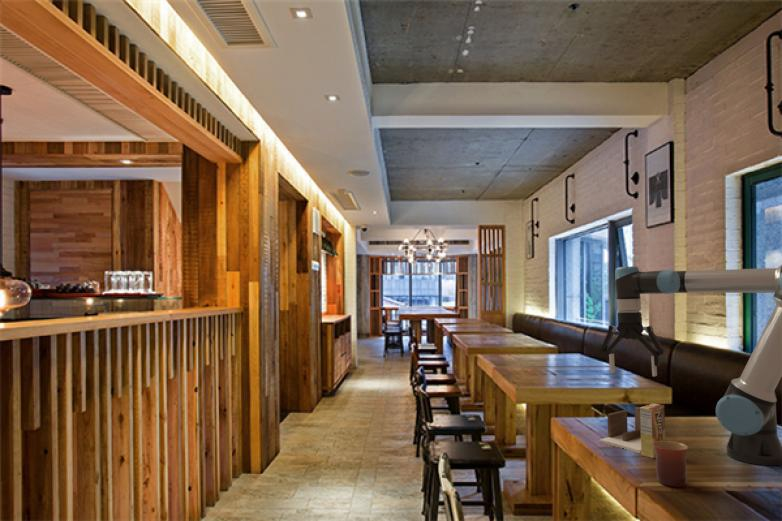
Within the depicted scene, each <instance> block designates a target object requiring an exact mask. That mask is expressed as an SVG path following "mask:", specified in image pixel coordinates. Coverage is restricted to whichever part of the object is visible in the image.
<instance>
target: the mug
mask: <svg viewBox="0 0 782 521" xmlns="http://www.w3.org/2000/svg"><path fill="white" fill-rule="evenodd" d="M652 445H653V447H654V450H655V454H656V457H655V473H656V478H657V481H658V482H659V483H660V484H662V485H664V486H667V487H670V488H671V487H672V488H679V487H680V488H681V487H684V486H685V485H687V480H688V479H687V478H688V475H687V474H688V473H687V461H686V459H687V454H688V451H689V446H688V445H686V444H684V443H681V442H678V441H673V440H672V441H671V440H665V441H655V442H653V443H652Z"/></svg>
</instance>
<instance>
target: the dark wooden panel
mask: <svg viewBox="0 0 782 521" xmlns="http://www.w3.org/2000/svg"><path fill="white" fill-rule="evenodd" d="M628 427H629V426H628V411H627V410H625V409H623V410H619V411H615V412H612V413H607V432H608V433H607V437H610V438H612V437H615V436H619V435H623V433H626V432H629V431H628V430H629V429H628Z"/></svg>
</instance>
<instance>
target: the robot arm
mask: <svg viewBox="0 0 782 521" xmlns="http://www.w3.org/2000/svg"><path fill="white" fill-rule="evenodd" d="M614 272H615V279H614V283H615V294H616V310H617V311H618V312H617V326H615V325H609V326H608V330H607V331H608V332H607V334H606V336H605V338H604V340H603V342H602V345H601V347H600V352H601V353H605V354H606V362H607V364H609V374H614V373H616V368H615V367H616V366H615V353H613V351H614V350H615V349H616V347H617V346H618V345H619V344H620V343H621V342H622V341H623V339H625V340H629V339H630V340H638V341H639V342H641V344H642V345H644V347H645V348H646V350H648V351H649V352H650V354H652V355H651V356H650V361H651V362H650V363H651V374H652V375H651V377H657V376H658V368H657V367H660V356H661V355H664V354H666V352H665V349H664V347H663V345H662V344H661V343H660V341H659V339H658V338H657V336H656V334H655V332H654V328H653V325H648V326H643V317H642V316H643V315H642V312H641V311H642V303H641V302H642V301H641V295H646V294H650V295H651V294H652V295H653V294H654V295H658V294H665V295H668V294H669V295H670V294H687V293H689V294H690V293H691V294H692V293H693V294H705V293H706V294H707V293H708V294H709V293H710V294H711V293H713V294H714V293H715V294H716V293H717V294H718V293H719V294H720V293H721V294H723V293H725V294H738V293H739V294H740V293H741V294H743V293H744V294H747V293H748V294H750V293H751V294H752V293H753V294H754V293H756V294H759V293H760V294H762V293H763V294H765V293H767V294H769V293H770V294H773V296H772V298H773V300H774V301H775V305H774V306H775V307H774V309H773V310H772V312H771V314H770V316H769V318H768V321H767V322H766V324H765V326H764V328H763V331H762V332H761V335H760V337H759V339H758V341H757V343H756V344H755V347H754V349H753V351H752V353H751V355H750V357H749V359H748V361H747V363H746V365H745V366H744V369H743V371H742V373H741V375H740V377H738V378H733V379H731V381H730V383H729V385H728V387H727V390H726V391H725V393H724V395H723V396H722V397H721V398H720V399H719V400H718V401H717V403H716V406H715V415H716V418H717V420H718V422H719V423H720V425H721V426H722V427H723V428H724V429H725V430H727V431H729V432H730V436H729V438H728V441H727V444H726V455H727V456H728V457H730V458H732V459H734V460H736V461H741V462H744V463H747V464H753V465H760V466H780V465H782V443H781V441H780V438H779V435H778V424H777V423H778V422H777V401H778V400H777V394H776V391H775V390H776V388H777V387H778V385H779V382H780V380H781V378H782V264H780V266H778V267H776V268H775V267H773V268H770V267H769V268H739V269H738V268H736V269H735V268H734V269H710V270H709V269H707V270H706V269H704V270H703V269H702V270H674V269H673V270H672V269H671V270H670V269H664V270H651V271H650V270H649V271H640V269H639V267H638V266H637V265H636V266H619V267H617V268H615V271H614ZM616 331H617V332H618V335H617V337H616V338H615V339H614V341H613V342H612V343H611V344H610V342H611V340H612V338H613V337H614V334H615V333H616ZM644 331H645V333H646V334H647V335H648V337H649V339H650V340H651V342H652V343H650V341H648V340H647V338H646V337H645V335H643V332H644ZM609 344H610V345H609ZM652 344H653V345H654V346H653V345H652Z"/></svg>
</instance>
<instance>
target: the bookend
mask: <svg viewBox="0 0 782 521" xmlns="http://www.w3.org/2000/svg"><path fill="white" fill-rule="evenodd" d="M634 423H635V424H634V426H635V430H630V431H628V432H626V433H623V441H625V442H626V441H629V440H633V439H636V438H641V423H640V407H634Z"/></svg>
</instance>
